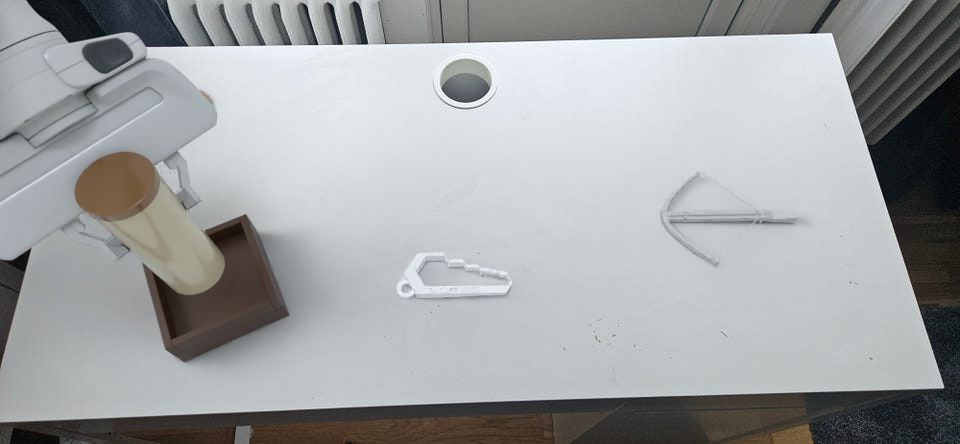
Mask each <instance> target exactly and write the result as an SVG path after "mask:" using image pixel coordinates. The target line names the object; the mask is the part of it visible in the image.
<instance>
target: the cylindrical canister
mask: <svg viewBox="0 0 960 444" xmlns="http://www.w3.org/2000/svg"><path fill="white" fill-rule="evenodd" d="M74 194H75V199H76V202H77V204H78V205H79V207H80V208H81V209H82V210H83V211H85V212H84V213H86V214H87V215H88V216H89V217H91V218H92V219H94V220H95V221H96V222H98V223H99V225H101V226H102V227H103V228H104V229H105V230H106V231H107V232H109V234H111V236H114V237H115V238H116V239H118V240H119V241H120V242H121V243H122V244H123V245H124V246H125V247H127V248H128V249H129V250H130V253H132V254H133V255H134V256H135V257H136V258H137V259H138V260H139V261H140V262H141V263H142V262H143V263H144V264H145V265H146V266H147V267H148V268H149V269H151V270H152V271H153V272H154V273H155V274H156V275H157V276H158V277H159V278H160V279H162V280H163V281H164V282H165V283H166V284H167V285H168V286H169V287H170V288H171V289H173V290H174V291H176V292H177V293H180V294H184V295H194V294H199V293H202V292H204V291H206V290H208V289H209V288H211V287H212V286H214V285H215V284H216V283H217V281H218V280H219V279H220V277H221V276H222V274H223V271H224V267H225V259H224V256H223V254H222V252H221V251H220V250H219V248H218V247H217V246H216V245H215V243H214V242H213V241H212V240H211V238H210V237H209V236H208V235H207V233H206V232H205V231H204V230H205V229H204V228H203V227H202V226H201V224H200V223H199V222H198V221H197V220H196V218H195V217H194V216H193V214H192V213H191V212H190V210H187V209H186V207H185V206H184V205H183V203H182V202H181V201H180V200H179V199H178V197H177V196H176V195H175V192H174V191H173V189H171V187H170V186H169V185H168V183H167V182H166V181H165V179H164V178H163V177H162V176H161V174H160V173H159V171H158V169H157V168H156V165H155V166H154V165H153V164H152V163H151V161H150V160H149V159H147V158H146V157H145V156H143V155H140V154H138V153H134V152H117V153H112V154H109V155H106V156H103V157H101V158H99V159H97V160H96V161H94V162H93V163H91V164H90V165H89V166H88V167H87V168H86V169H85V170H84V171H83V172H82V173H81V175H80V176H79V178H78V180H77V182H76V185H75V192H74Z"/></svg>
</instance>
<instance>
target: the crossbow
mask: <svg viewBox="0 0 960 444" xmlns="http://www.w3.org/2000/svg"><path fill="white" fill-rule="evenodd" d="M700 174H702V176H704V177H706V178H707V179H708V180H710V181H712V182H713V183H715V184H716V185H718V186H719V187H721V188H722V189H724V191H727V192H728V193H730V194H731V195H732V196H734V197H736V198H737V199H739V200H740V201H742V202H743V203H745V204H746V205H748V206H749V207H750V208H752V209H734V210H733V209H732V210H731V209H730V210H729V209H728V210H727V209H726V210H687V209H681V210H680V211H679V210H676V211H675V210H673V211H672V210H671V211H669V210H668V207H669V204H670V203H671V202H672V201H673V199H675V197H676V196H677V195H678V194H679V193H680V192H681V191H682V190H683V189H684V188H685V187H686V186H687V185H689V184H690V183H691V182H692V181H694V180H695V179H696V178H698V177H699V175H700ZM667 210H668V211H667ZM660 219H661V225H663V227H664V228H665V229H666V230H667V232H668V233H669V234H670V235H671V236H672V237H674V238H675V239H676V240H677V241H678V242H680V243H681V244H682V245H684V246H685V247H686V248H688V249H689V250H690V251H691V252H693V253H695V254H696V255H698V256H699V257H701V258H703V259H704V260H706V261H708V262H710V263H711V264H712V265H713V266H718V265H720V263H721V260H722V259H723V258H724V257H725V255H726V254H727V253H728V252H729V251H730V250H731V249H732V248H733V247H734V246H735V244H736V243H737V242H738V241H739V240H740V239H741V238H742V237H743V236H744V235H745V234H746V232H748V230H749V229H751V227H752V226H753V225H754V224H755V223H756V222H758V224H759V225H762V223H763V222H769V223H786V224H787V223H789V224H795V222H796V221H797V220H798V219H799V214H798V211H797V209H785V210H768V209H757V208H755V207H754V206H752V205H751V204H749V203H748V202H746V201H745V200H743V199H742V198H740V197H739V196H737V195H736V194H735V193H733V192H731V191H730V190H728V188H726V187H724V186H723V185H721V184H720V183H718V182H716V181H715V180H713V179H712V178H711V177H709V176H708V175H706V174H705V173H703V172H702V171H701V170H697V171H695V173H693V174H692V175H691V176H689V177H688V178H687V179H686V180H684V181H683V182H682V183H681V184H680V185H679V186H678V187H677V188H676V189H675V190H674V191H673V192H672V193H671V194H670V195H669V197H668V198H667V200H665V202H664V205H663V207H662V209H661V211H660ZM704 222H707V223H708V222H709V223H710V222H713V223H714V222H752V223H751V225H749V227H748V228H746V230H745V231H744V232H743V233H742V234H741V235H740V236H739V237H738V239H737V240H735V242H734V243H733V244H732V245H731V246H730V247H729V248H728V249H727V251H726V252H725V253H724V254H722V256H721V257H720V258H719V259H717V258H715V257H714V256H712V255H710V254H708V253H706V252H705V251H703V250H702V249H700V248H699V247H697V246H696V245H694V244H693V243H692V242H690V241H689V240H687V238H685V237H684V236H683V235H682V234H681V233H679V232H678V231H677V230H676V229H675V228H674V227H673V225H672V224H671V223H704Z"/></svg>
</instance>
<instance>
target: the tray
mask: <svg viewBox="0 0 960 444" xmlns="http://www.w3.org/2000/svg"><path fill="white" fill-rule="evenodd" d="M203 230H204V231H205V232H206V233H207V235H208V236H209V237H210V238H211V240H212V241H213V242H214V243H215V245H216V246H217V247H218V248H219V250H220V251H221V252H222V254H223V256H224V259H225V267H224V271H223V274H222V276H221V277H220V279H219V280H218V281H217V283H216V284H215V285H214V286H212V287H211V288H209V289H208V290H206V291H204V292H202V293H199V294H194V295H184V294H180V293H177V292H176V291H174V290H173V289H171V288H170V287H169V286H168V285H167V284H166V283H165V282H164V281H163V280H162V279H160V278H159V277H158V276H157V275H156V274H155V273H154V272H153V271H152V270H151V269H149V268H148V267H147V266H146V265H145V264H144V263H143V262H142V261H141V264H142V268H143V272H144V276H145V279H146V283H147V287H148V291H149V295H150V299H151V302H152V305H153V309H154V313H155V317H156V321H157V325H158V328H159V332H160V336H161V339H162V343H163V347H164V350H165V351H166V352H168V353H169V354H171V355H172V356H173V357H175V358H177V359H179V360H180V361H181V362H183V363H185V362H188V361H190V360H193V359H195V358H196V357H200V356H201V355H204V354H206V353H208V352H210V351H212V350H215V349H217V348H220V347H221V346H224V345H226V344H229V343H230V342H232V341H236V340H237V339H239V338H241V337H244V336H246V335H248V334H251V333H253V332H255V331H257V330H260V329H262V328H265V327H266V326H269V325H271V324H273V323H275V322H278V321H280V320H282V319H284V318H286V317H289V316H290V312H289V310H288V307H287V305H286V302H285V300H284V297H283V294H282V291H281V289H280V286H279V284H278V281H277V278H276V276H275V273H274V270H273V267H272V265H271V262H270V260H269V256H268V254H267V252H266V249H265V247H264V243H263V241H262V239H261V236H260V234H259V231H258V230H257V229H256V227H255V226H254V224H253V223H252V221H251V219H250V218H249V216H248V215H247V214H246V213H244V214H242V215H239V216H237V217H235V218H232V219H230V220H227V221H224V222H221V223H219V224H216V225H214V226H212V227H209V228H206V229H203Z"/></svg>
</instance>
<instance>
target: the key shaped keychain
mask: <svg viewBox="0 0 960 444" xmlns="http://www.w3.org/2000/svg"><path fill="white" fill-rule="evenodd" d="M428 261H429V262H432V261H433V262H437V261H438V262H439V261H440V262H443V261H444V262H445V263H446V264H447V266H448V267H449V268H451V267H452V268H454V267H455V268H456V267H458V268H459V267H463V268H464V269H465V271H466V272H471V271H472V272H473V271H474V272H479V274H480V275H482V274H489V275H491V276H499V277H500V278H507V280H508V281H509V282H508V284H505V285H503V284H501V285H499V284H498V285H431V286H430V285H428V286H427V285H425V284H424V282H423V281H422V279H421V277H420V276H419V273H420V271H421V270H422V269H423V267H424V265H425V264H426V262H428ZM403 275H404V279H402V280H400V281H399V282H398V283H397V284H396V293H397V296H399V298H401V299H403V300H409V299H412V298H413V297H414V296H415V297H416V298H417V299H444V298H463V297H478V296H506V295H507V293H508V292H509V290H510V289H511V287H512V286H513V280H512V279H511V277H510V276H509V274H508V272H506V271H505V270H498V269H495V268H494V269H491V268H490V267H480V266H479V264H477V263H476V264H467V263H466V261H465V260H464V259H462V258H461V259H448V257H447V256H446V255H445V253H444V252H418V253H416V255H415V256H414V258H413V260H412V261H411V262H410V263H409V265H408V267H407V268H406V269H405V271H404V272H403ZM405 286H409V287H410V288H411V289H410V291H409V292H404V291H402V289H403V287H405Z"/></svg>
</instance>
